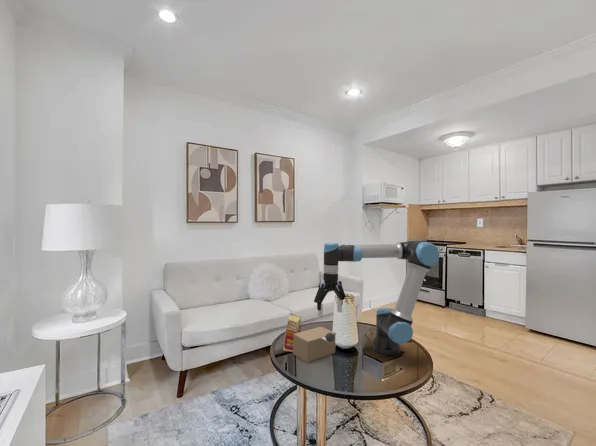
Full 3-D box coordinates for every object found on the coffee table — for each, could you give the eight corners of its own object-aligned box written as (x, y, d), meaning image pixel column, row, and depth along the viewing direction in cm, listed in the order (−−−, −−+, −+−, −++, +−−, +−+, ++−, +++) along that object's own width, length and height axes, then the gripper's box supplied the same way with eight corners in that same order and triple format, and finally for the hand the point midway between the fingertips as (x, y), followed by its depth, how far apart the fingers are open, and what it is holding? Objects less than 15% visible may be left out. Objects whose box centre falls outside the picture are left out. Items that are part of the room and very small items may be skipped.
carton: (335, 352, 160) (335, 334, 161) (307, 362, 148) (307, 343, 148) (320, 345, 170) (320, 328, 170) (293, 354, 158) (293, 335, 158)
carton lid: (346, 339, 154) (346, 330, 154) (318, 348, 142) (318, 338, 142) (320, 327, 170) (321, 319, 170) (293, 335, 158) (293, 326, 158)
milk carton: (283, 350, 163) (283, 314, 163) (288, 343, 171) (289, 309, 171) (298, 352, 160) (299, 316, 160) (303, 346, 168) (304, 311, 168)
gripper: (342, 269, 160) (341, 308, 160) (307, 273, 145) (306, 316, 145) (352, 271, 155) (352, 311, 154) (317, 276, 139) (316, 320, 139)
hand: (330, 314), depth 150 cm, fingers open, 13 cm apart
